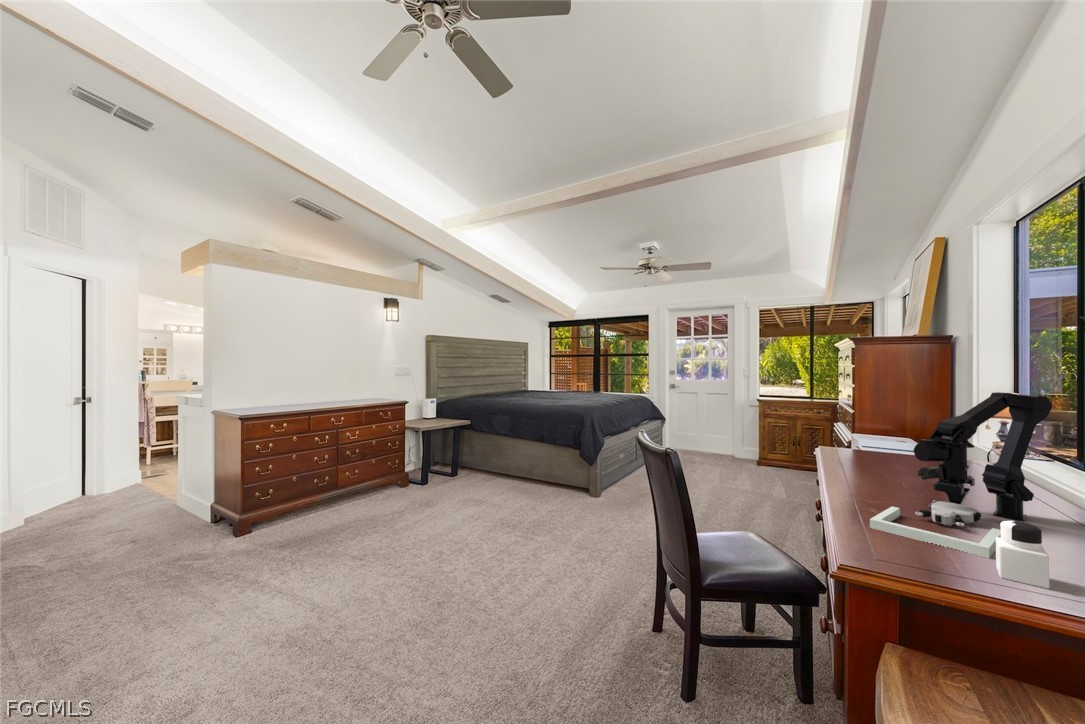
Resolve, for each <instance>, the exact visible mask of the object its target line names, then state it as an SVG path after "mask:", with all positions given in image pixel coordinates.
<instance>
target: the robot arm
mask: <svg viewBox="0 0 1085 724" xmlns="http://www.w3.org/2000/svg"><path fill="white" fill-rule="evenodd" d="M1007 408H1008V413H1009V415H1010V417H1011V419H1012V420H1011V424H1010V426H1009V428H1008V432H1007V435H1006V437H1005V440H1004V443H1003V445H1002V449H1001V451H1000V454H999V457H998V460H997V461H996V462H995V463H993V464H989V463H987V464H986V465H985V467H984V471H983V472H982V474H981V476H982V483H984V485H985V487H986V490H987V492H988V494H993V495H995V505H996V506H995V508H996V509H995V510H994V511H993V512H992V515H993V516H996V517H1003V518H1006V519H1012V520H1015V521H1017V520H1018V521H1020V522H1024V521H1025V520H1026V519H1027V517H1028V516H1027V514H1024V502H1030V501H1031V502H1032V501H1033V499H1034V496H1035V494H1034V493H1033V492H1032V491H1031V490H1030V489H1029V488H1028V487H1027V486H1026V485H1025V480H1026V477H1025V474H1024V472H1023V470H1022V465H1023V462H1024V459H1025V457H1026V453H1027V452H1028V450H1029V449H1028V448H1029V446H1030V443H1031V441H1032V440H1031V439H1032V438H1033V434H1034V432H1035V428H1036V427H1037V425H1038V424H1040V423H1041V422H1043V421H1044V420H1045V419H1047V417H1048V416H1049V415H1050V412H1051V410H1052V409H1053V403H1052V402H1051V401H1050V399H1049V398H1048V397H1046V396H1044V395H1032V394H1031V395H1030V394H1015V393H1012V392H1000V391H997V392H993V393H991V395H990V396H989V397H987V398H986V399H984V400H982V401H981V402H979V403H978V404H976V405H975V406H973V407H972V408H970V409H968V410H967V411H965V412H963V414H960V415H956V416H952V417H948V418H946V419H943V420H941V421H940V422H939V423H937V425H936V428H935V430H933V432H932V433H931V435H930V436H929V437H928V439H923V438H921V439H919V440H918V443H917V444H915V446H914V448H913V454H914V456H915V457H916V459H917V460H919V461H920V462H941V463H939V464H938V466H933V467H928V466H924V467H923V466H921V467H920V468H919V469H918V470H917V473H918V474H917V475H918V476H919V477H920V479H921V480H922V481H927V480H931V479H938V481H936V482H934V483H933V490H934V491H937V492H943V493H945V494H946V496H947V498H948V501H949V502H950V503H955V504H960V505H963V502H964V501H965V499H966V497H967V496H968V494H969V492H970V491H971V488H967V487H965V484H967V485H970V487H974V486H975V485H976V482H975V481H976V479H975V478H974V477H973V476H972V475H968V470H969V469H970V465H969V464H968V448H969V449H972V448H975V445H974V444H972V443H971V442H970V441H969V440H970V439H971V438H972V437H973V436H974V435H975V434H976V433H977V432H978V428H979V426H980V425H982V424H984V423H985V422H987V421H988V420H990V419H991V418H993V417H994V416H997V415H998V414H999V413H1001V412H1003V411H1004V410H1005V409H1007Z"/></svg>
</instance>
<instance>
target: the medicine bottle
mask: <svg viewBox="0 0 1085 724" xmlns="http://www.w3.org/2000/svg"><path fill="white" fill-rule="evenodd" d="M1000 530H1001V538H1000V537H996V550H995V567H996V570H997V572H998V576H999V577H1000V578H1001V579H1005V580H1009V581H1014V582H1018V583H1021V584H1022V583H1023V584H1026V585H1031V586H1034V587H1039V588H1044V589H1046V590H1047V589H1050V556H1049V554H1048V553H1047V552H1046V550H1045V548H1044V547H1043V539H1042V538H1043V537H1042V529H1041V528H1039V527H1037V526H1036V525H1034V524H1032V523H1031V524H1030V523H1027V522H1024V521H1019V520H1018V521H1017V520H1003V521H1001V522H1000Z"/></svg>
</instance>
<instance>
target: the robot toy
mask: <svg viewBox="0 0 1085 724" xmlns="http://www.w3.org/2000/svg"><path fill="white" fill-rule="evenodd" d="M928 508H929V510H928V509H920V510H919V511H915V512H914V514H915V515H916V516H919V517H922V518H929V517H931V519H932V522H933V523H934V522H935V523H936V522H937V523H936V524H938V523H940V524H939V525H941V524H943V525H942V526H946V525H947V527H952V526H953V525H955V526H957V527H965V525H966V524H972V523H975V522H978V521H980V520H983V519H984V517H985V516H986V515H988V512H987V511H984V513H983V514H982V513H980V512H979V510H978V509H977V508H974V507H971V506H969V505H968V506H967V505H964V504H961V505H960V504H955V503H950V502H948V501H938V500H936V499H934V500H932V502H931V503H930V504H928Z"/></svg>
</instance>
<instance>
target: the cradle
mask: <svg viewBox="0 0 1085 724" xmlns="http://www.w3.org/2000/svg"><path fill="white" fill-rule="evenodd" d="M900 517H901V508H900V507H896V506H889V507H888V508H887V509H885V510H882V511H881V512H880V513H878V514H876V515H874V516H873V517H871V518H869V528H870V529H873V530H878V531H882V532H886V533H888V534H893V535H897V536H901V537H904V538H909V539H912V540H916V541H920V542H923V541H924V543H927V542H928V544H931V543H933V544H932V545H935V544H937V545H936V546H939V545H941V546H940V547H943V546H944V547H943V548H947V547H949V548H948V549H950V548H953V549H952V550H954V549H957V550H956V551H958V550H960V551H959V552H962V551H963V553H966V552H967V554H970V555H974V556H979V557H981V558H982V557H983V558H986V559H990V558H991V556H992V555H993V554H994V553H995V552H996V537H1000V538H1001V529H999V528H994V527H992V528H991V529H990V530H989V531H988V532H987V533H986V535H985V536H984V537H983V538H982V539H981V540H980V542H975V541H969V540H966V539H961V538H957V537H954V536H949V535H945V534H942V533H937V532H933V531H928V530H924V529H920V528H918V527H911V526H909V525H908V526H907V525H904V524H899V523H896V522H893V521H895V520H896V519H898V518H900Z"/></svg>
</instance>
